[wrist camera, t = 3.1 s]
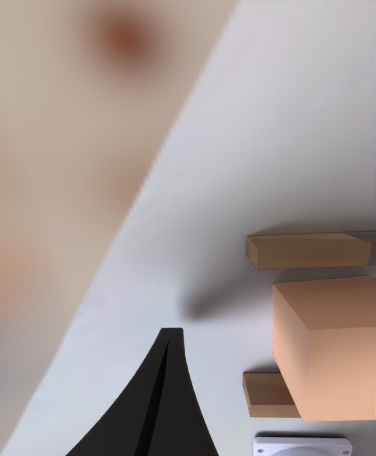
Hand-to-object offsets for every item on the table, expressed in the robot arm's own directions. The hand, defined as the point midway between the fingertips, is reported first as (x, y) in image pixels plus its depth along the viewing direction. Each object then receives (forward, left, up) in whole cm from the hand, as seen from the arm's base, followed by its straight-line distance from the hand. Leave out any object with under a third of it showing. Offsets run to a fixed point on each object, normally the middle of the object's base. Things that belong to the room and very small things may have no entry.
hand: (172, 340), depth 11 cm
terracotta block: (0, -10, -2) cm, 10 cm away
